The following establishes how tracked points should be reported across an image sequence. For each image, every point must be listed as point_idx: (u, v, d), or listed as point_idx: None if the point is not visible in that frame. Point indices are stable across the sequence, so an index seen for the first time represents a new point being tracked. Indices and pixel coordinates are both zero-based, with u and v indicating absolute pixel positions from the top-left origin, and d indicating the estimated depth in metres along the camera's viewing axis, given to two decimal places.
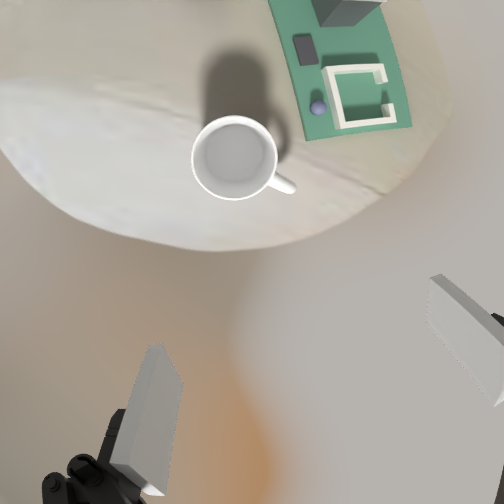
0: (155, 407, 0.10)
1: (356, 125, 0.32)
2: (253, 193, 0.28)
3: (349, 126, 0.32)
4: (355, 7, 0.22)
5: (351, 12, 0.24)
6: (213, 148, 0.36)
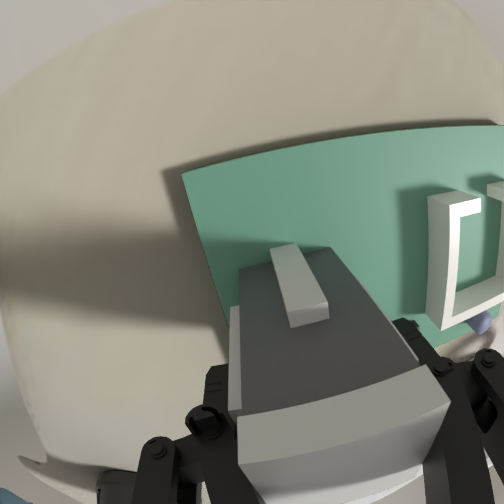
0: None
1: None
2: None
3: None
4: None
5: None
6: None
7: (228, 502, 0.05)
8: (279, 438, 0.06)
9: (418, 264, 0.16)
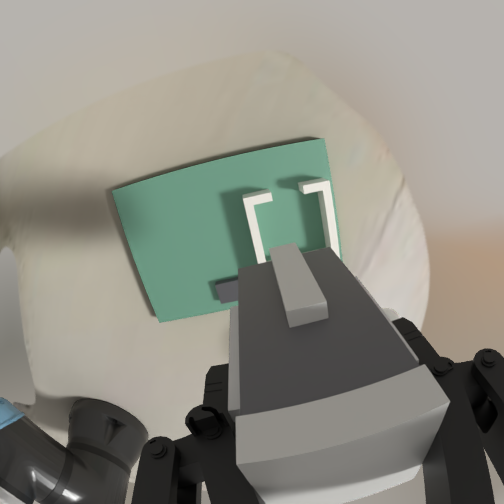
0: None
1: (336, 240, 0.28)
2: None
3: (337, 249, 0.29)
4: None
5: None
6: None
7: (228, 502, 0.05)
8: (277, 438, 0.06)
9: (243, 236, 0.30)
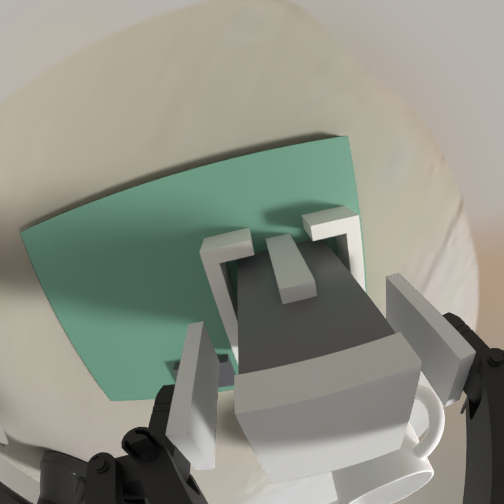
0: (202, 380, 0.11)
1: None
2: (432, 474, 0.15)
3: None
4: None
5: None
6: None
7: None
8: (270, 391, 0.07)
9: (211, 303, 0.18)
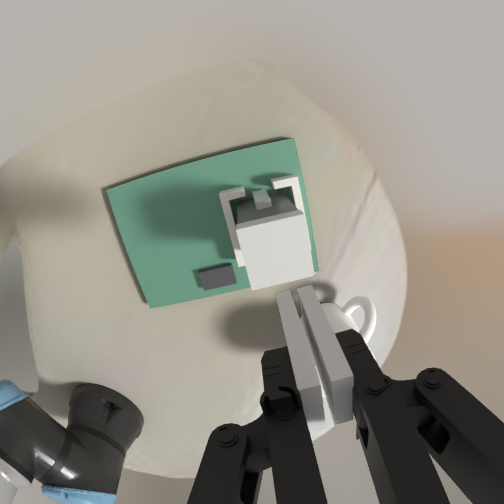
0: None
1: None
2: None
3: None
4: None
5: None
6: None
7: (292, 486, 0.06)
8: (248, 224, 0.22)
9: (222, 228, 0.33)
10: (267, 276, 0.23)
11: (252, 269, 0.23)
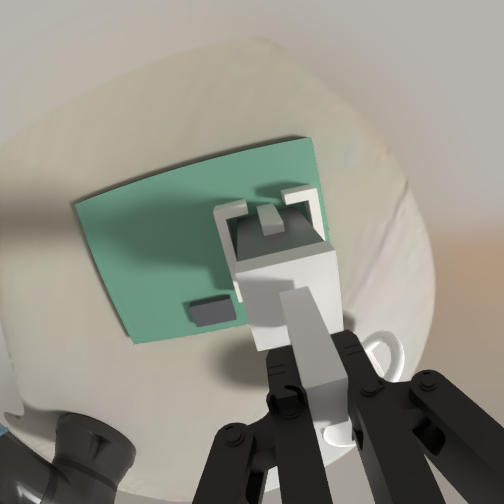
0: None
1: None
2: None
3: None
4: None
5: None
6: None
7: (298, 485, 0.06)
8: (253, 264, 0.15)
9: (218, 253, 0.26)
10: (279, 334, 0.16)
11: (258, 326, 0.16)
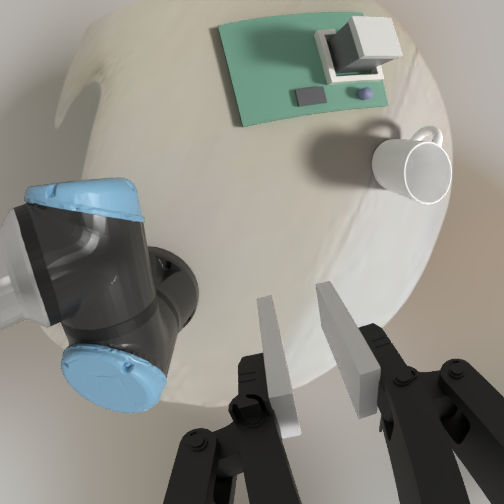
0: None
1: None
2: (449, 162, 0.31)
3: (381, 71, 0.33)
4: None
5: None
6: None
7: (265, 492, 0.06)
8: None
9: (315, 60, 0.34)
10: (373, 48, 0.24)
11: (364, 41, 0.24)
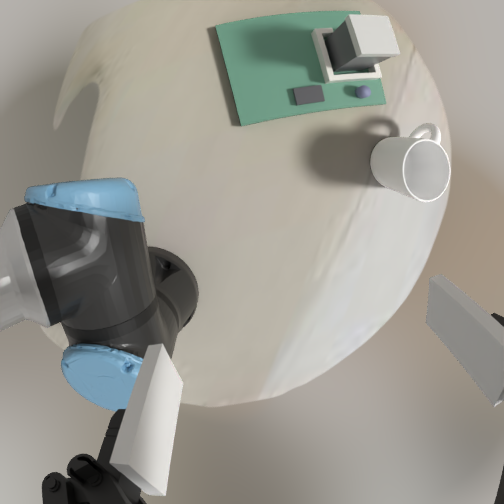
0: (155, 407, 0.10)
1: (377, 63, 0.32)
2: (447, 160, 0.31)
3: (379, 69, 0.33)
4: None
5: None
6: None
7: None
8: None
9: (313, 58, 0.34)
10: (371, 46, 0.24)
11: (361, 39, 0.24)
